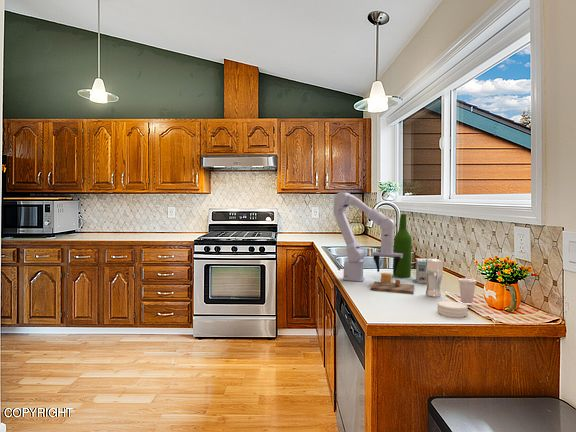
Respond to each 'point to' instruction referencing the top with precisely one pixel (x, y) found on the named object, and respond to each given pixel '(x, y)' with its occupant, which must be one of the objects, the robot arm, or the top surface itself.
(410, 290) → the junction board
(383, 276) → the orange brown block
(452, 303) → the coaster
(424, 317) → the top surface
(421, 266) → the light bulb box
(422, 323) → the top surface
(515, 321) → the top surface
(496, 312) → the top surface
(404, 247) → the wine bottle
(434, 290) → the beer glass
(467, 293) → the smoothie
